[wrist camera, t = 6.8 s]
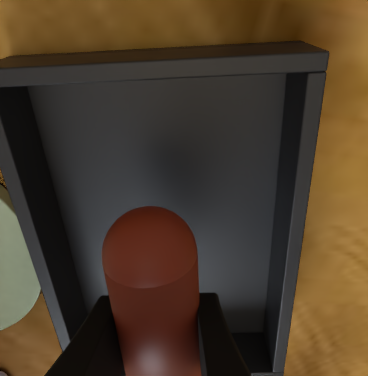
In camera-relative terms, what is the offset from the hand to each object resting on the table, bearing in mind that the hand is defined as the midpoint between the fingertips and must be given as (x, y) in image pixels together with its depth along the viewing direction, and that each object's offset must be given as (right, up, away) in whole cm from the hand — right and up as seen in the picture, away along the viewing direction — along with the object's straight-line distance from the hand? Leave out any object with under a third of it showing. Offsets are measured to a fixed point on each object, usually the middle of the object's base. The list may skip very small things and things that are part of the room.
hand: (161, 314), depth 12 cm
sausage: (0, +1, +1) cm, 1 cm away
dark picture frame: (0, +3, +5) cm, 6 cm away
